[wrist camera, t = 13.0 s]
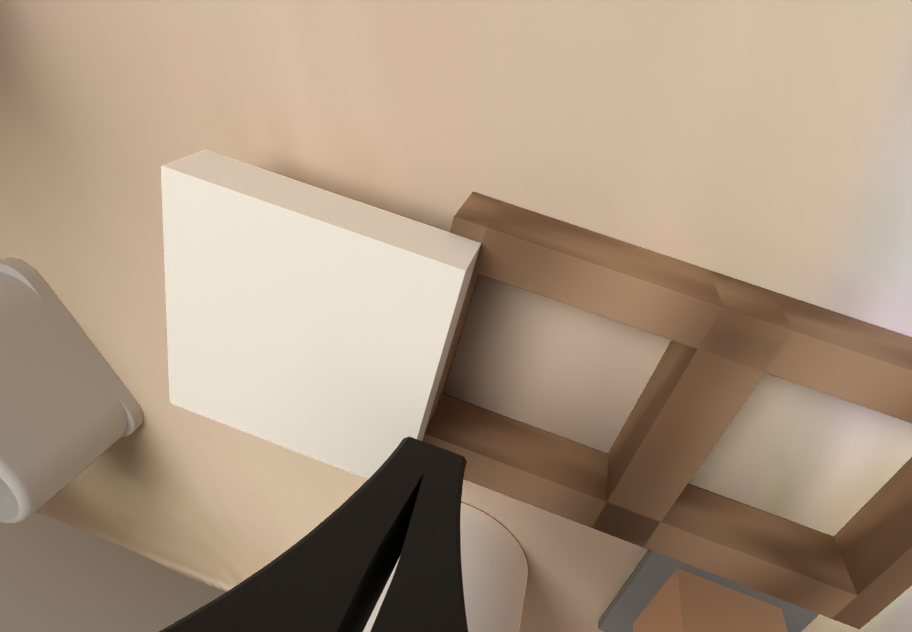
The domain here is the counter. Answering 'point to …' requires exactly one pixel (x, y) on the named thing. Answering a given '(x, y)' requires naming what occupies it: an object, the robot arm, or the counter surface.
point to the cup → (486, 575)
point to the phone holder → (50, 395)
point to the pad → (654, 576)
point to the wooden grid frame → (688, 414)
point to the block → (706, 609)
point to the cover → (305, 310)
